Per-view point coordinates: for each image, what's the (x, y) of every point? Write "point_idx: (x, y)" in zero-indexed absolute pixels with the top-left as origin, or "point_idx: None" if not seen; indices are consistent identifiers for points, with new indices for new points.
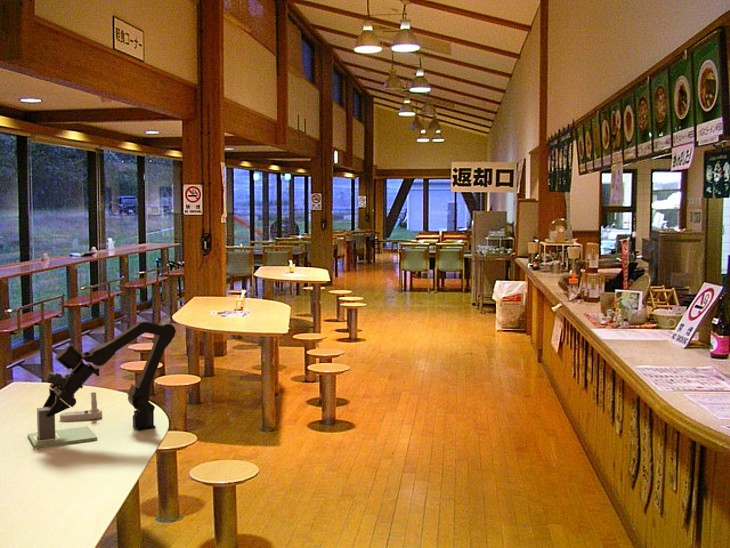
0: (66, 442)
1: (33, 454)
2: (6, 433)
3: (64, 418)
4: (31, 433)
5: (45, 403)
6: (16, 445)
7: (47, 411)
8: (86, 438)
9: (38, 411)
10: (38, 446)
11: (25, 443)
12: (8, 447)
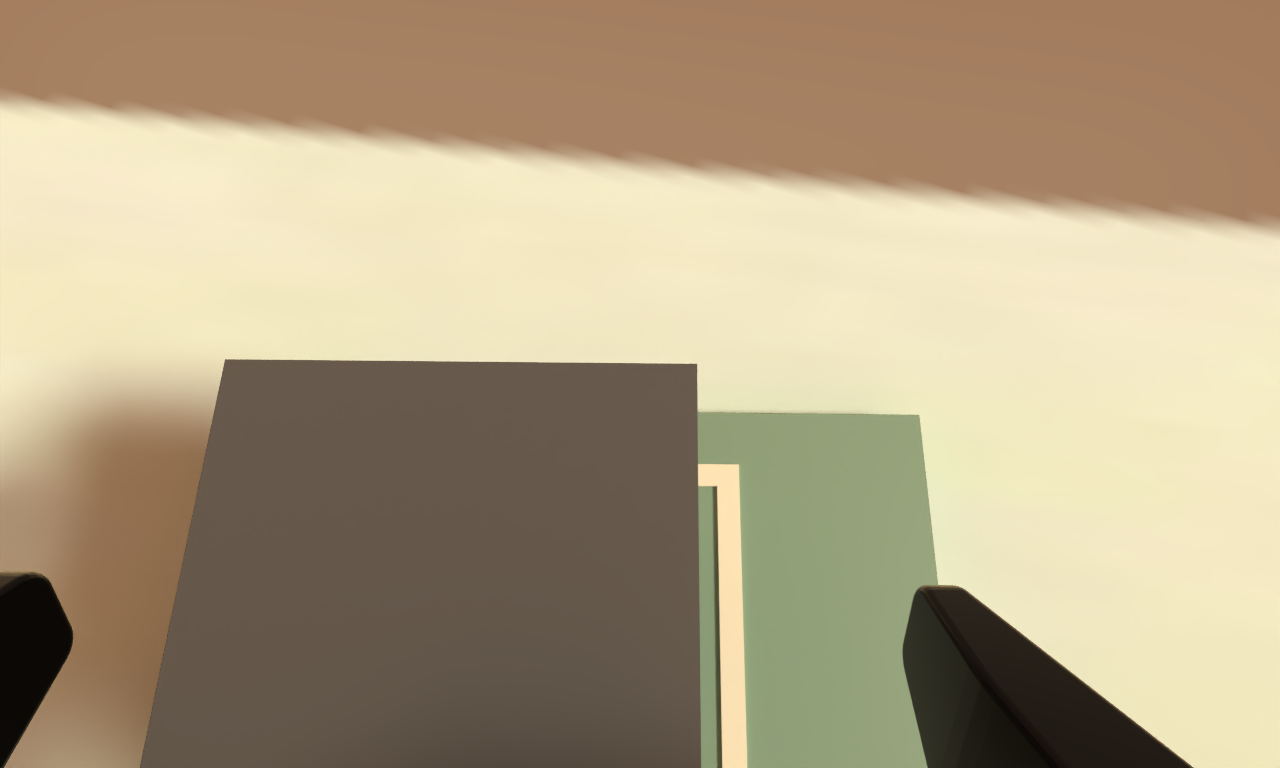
0: None
1: (30, 369)
2: (1177, 221)
3: None
4: (915, 466)
5: (1062, 763)
6: (547, 254)
7: (191, 665)
8: None
9: (345, 373)
10: None
11: (579, 356)
12: (512, 172)
